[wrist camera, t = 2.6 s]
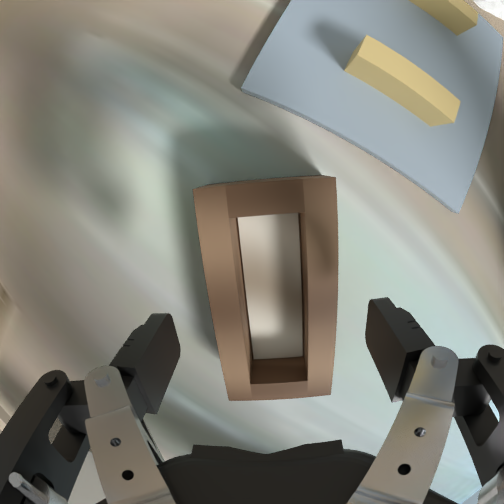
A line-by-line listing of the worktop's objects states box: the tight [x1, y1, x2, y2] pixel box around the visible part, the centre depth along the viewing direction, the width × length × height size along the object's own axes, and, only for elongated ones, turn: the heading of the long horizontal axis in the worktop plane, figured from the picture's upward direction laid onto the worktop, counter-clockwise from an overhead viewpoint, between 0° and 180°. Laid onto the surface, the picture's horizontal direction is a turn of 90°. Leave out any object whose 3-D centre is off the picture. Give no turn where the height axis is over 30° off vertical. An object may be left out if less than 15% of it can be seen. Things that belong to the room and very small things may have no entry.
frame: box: [193, 175, 338, 401], centre depth 14 cm, size 12×6×3 cm, turn 6°
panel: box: [241, 0, 503, 214], centre depth 10 cm, size 16×14×3 cm
